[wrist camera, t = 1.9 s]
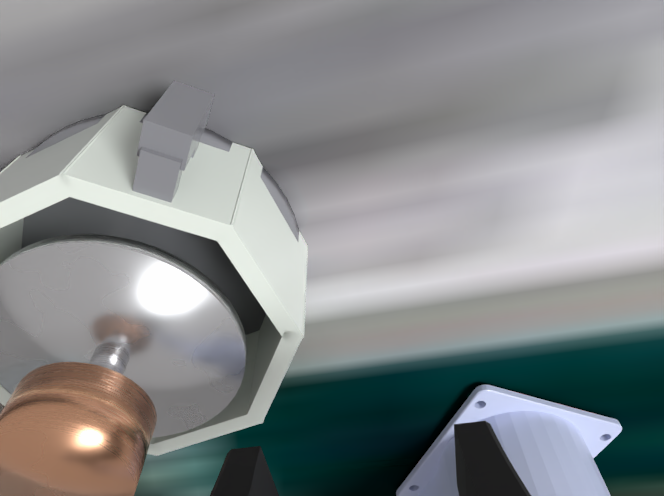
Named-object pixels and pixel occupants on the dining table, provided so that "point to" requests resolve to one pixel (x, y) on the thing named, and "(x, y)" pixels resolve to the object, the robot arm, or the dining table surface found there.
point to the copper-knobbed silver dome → (106, 361)
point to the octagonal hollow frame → (175, 225)
